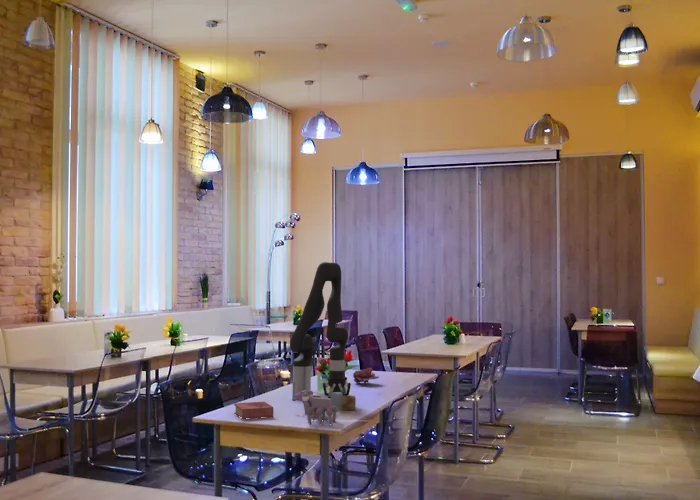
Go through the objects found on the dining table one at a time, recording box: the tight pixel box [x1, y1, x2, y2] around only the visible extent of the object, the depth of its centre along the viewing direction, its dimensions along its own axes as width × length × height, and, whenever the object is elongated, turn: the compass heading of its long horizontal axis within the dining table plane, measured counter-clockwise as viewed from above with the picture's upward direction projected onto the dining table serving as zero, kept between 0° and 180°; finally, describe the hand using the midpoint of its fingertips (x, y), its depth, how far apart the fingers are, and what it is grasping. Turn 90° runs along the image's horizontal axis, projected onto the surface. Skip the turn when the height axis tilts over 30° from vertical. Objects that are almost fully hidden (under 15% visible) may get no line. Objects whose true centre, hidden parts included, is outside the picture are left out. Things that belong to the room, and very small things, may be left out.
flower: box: [352, 367, 380, 385], centre depth 415 cm, size 15×15×10 cm
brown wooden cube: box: [341, 395, 357, 411], centre depth 335 cm, size 6×6×6 cm
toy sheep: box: [294, 390, 338, 425], centre depth 312 cm, size 20×11×14 cm, turn 71°
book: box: [233, 401, 275, 420], centre depth 324 cm, size 14×15×5 cm
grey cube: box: [331, 391, 343, 407], centre depth 344 cm, size 6×6×6 cm
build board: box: [336, 407, 357, 413], centre depth 339 cm, size 12×18×1 cm, turn 3°
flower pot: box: [303, 394, 323, 416], centre depth 325 cm, size 9×9×9 cm
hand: (336, 404), depth 344 cm, fingers closed on grey cube, 5 cm apart
